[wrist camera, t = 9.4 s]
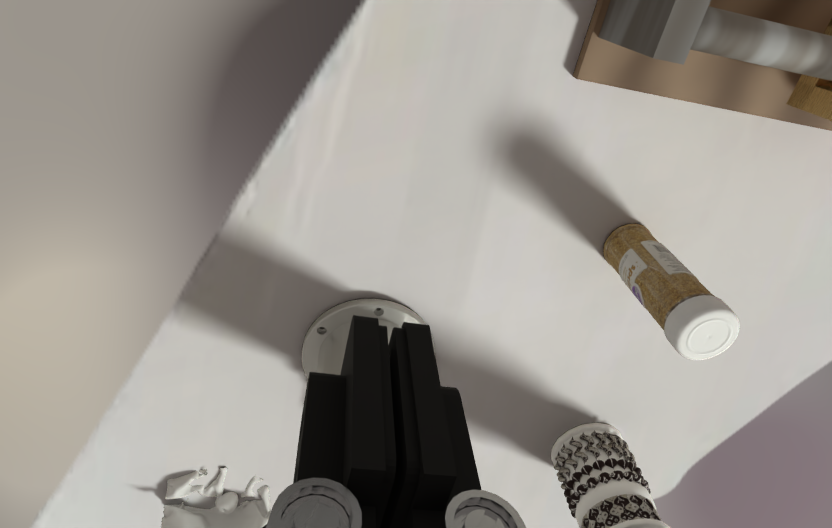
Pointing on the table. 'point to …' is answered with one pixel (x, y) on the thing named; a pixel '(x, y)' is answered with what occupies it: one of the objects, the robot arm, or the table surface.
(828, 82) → the sleeve
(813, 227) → the table surface
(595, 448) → the decorative candle
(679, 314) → the sprinkles bottle
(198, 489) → the grey relief sculpture
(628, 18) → the machine model on base
